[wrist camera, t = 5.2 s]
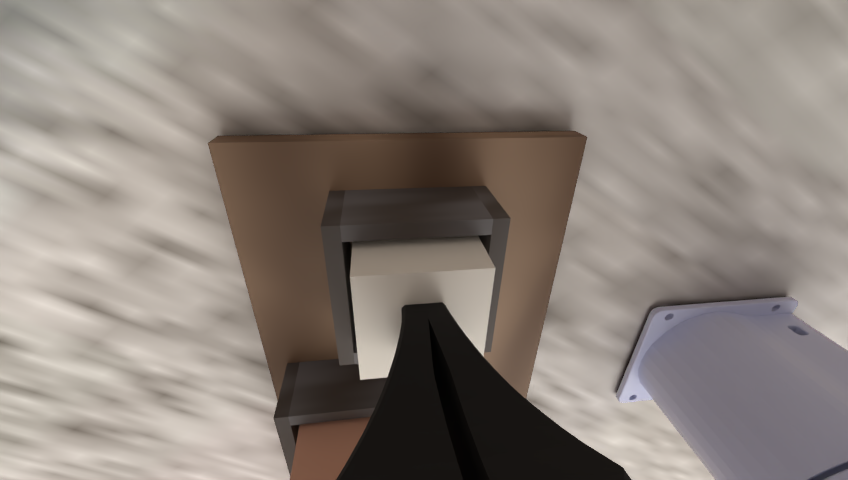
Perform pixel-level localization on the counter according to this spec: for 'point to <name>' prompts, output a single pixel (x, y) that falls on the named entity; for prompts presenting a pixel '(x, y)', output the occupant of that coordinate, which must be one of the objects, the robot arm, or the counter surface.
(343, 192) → the brown socket board
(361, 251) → the cream cube
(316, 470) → the salmon pink cube
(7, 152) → the counter surface
